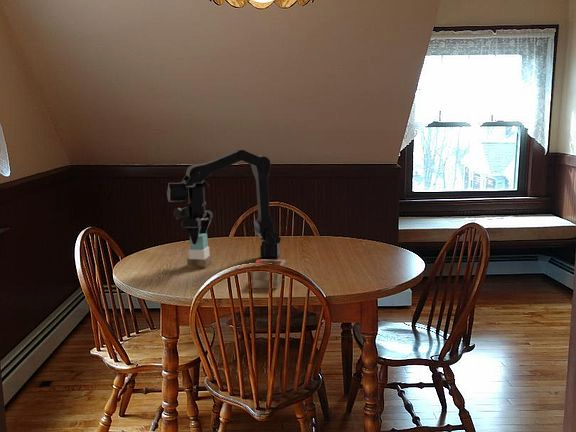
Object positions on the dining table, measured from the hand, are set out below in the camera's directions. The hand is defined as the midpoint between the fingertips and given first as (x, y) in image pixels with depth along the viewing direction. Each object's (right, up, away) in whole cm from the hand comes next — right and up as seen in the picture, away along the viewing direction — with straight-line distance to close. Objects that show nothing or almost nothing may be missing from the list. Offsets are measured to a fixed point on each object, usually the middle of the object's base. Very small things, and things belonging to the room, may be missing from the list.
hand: (198, 241), depth 223 cm
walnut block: (0, -9, +2) cm, 10 cm away
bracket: (+26, -13, -19) cm, 34 cm away
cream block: (0, -6, +1) cm, 6 cm away
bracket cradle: (+27, -13, -20) cm, 36 cm away
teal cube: (0, -2, 0) cm, 3 cm away
